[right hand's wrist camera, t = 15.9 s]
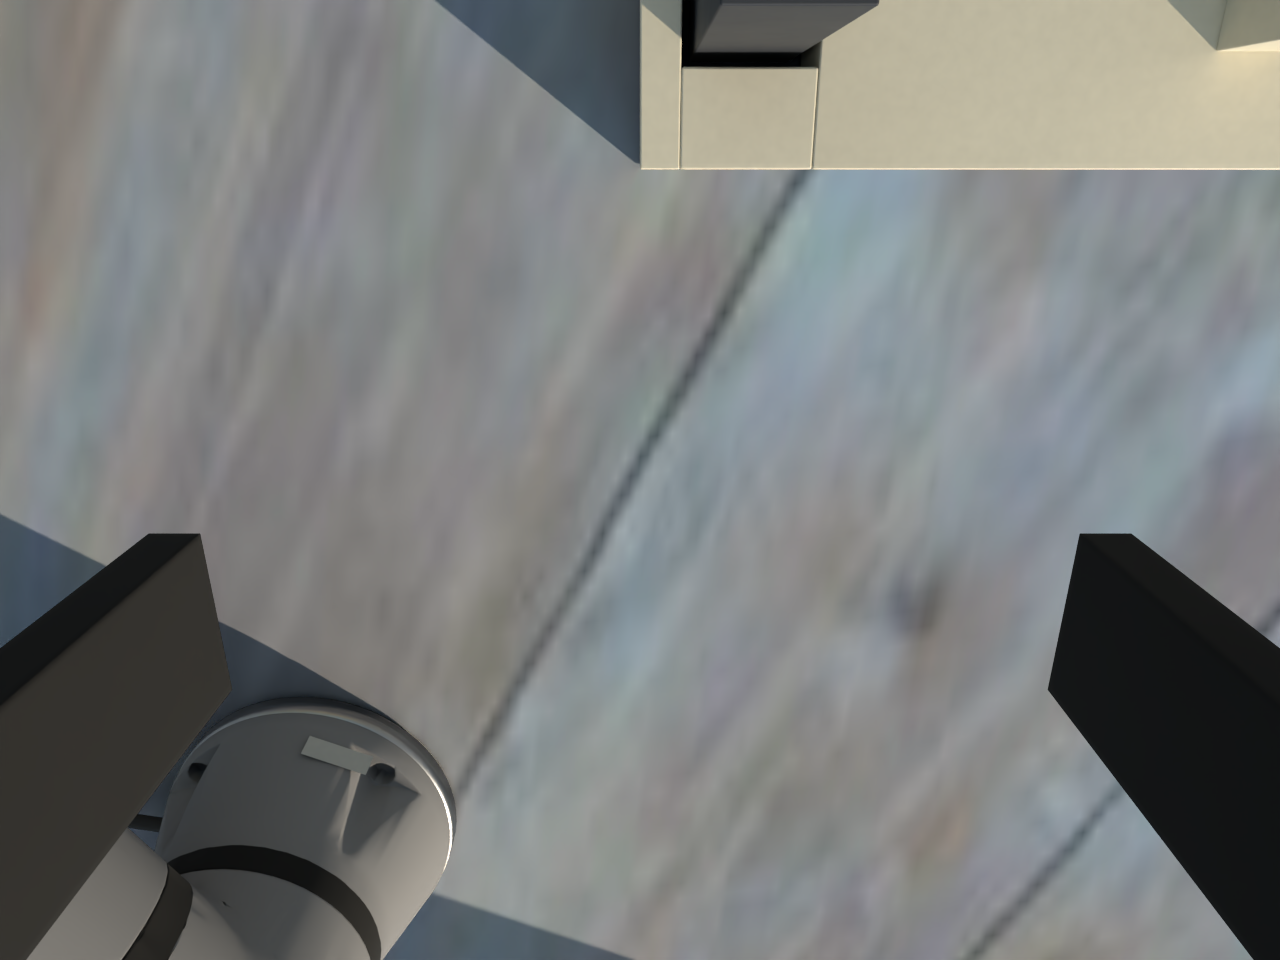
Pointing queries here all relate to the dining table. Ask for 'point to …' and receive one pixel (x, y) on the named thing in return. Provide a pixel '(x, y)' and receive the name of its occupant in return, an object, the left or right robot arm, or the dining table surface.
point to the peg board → (981, 90)
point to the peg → (765, 27)
